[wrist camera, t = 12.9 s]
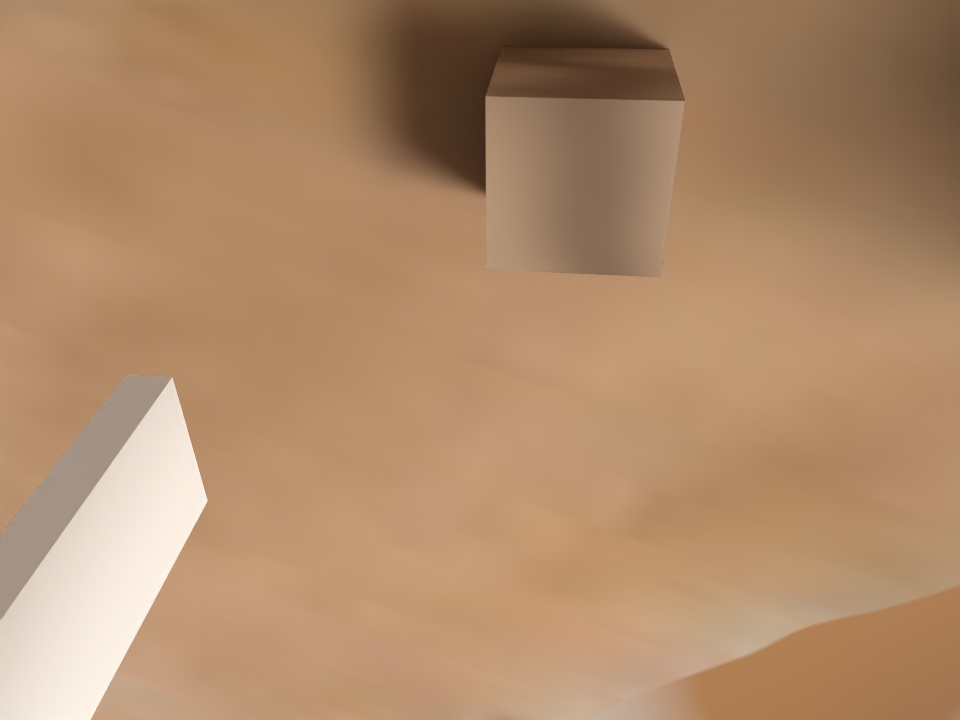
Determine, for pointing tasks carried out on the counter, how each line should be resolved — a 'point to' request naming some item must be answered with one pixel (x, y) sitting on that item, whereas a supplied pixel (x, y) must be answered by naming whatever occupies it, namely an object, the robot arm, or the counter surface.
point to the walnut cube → (581, 159)
